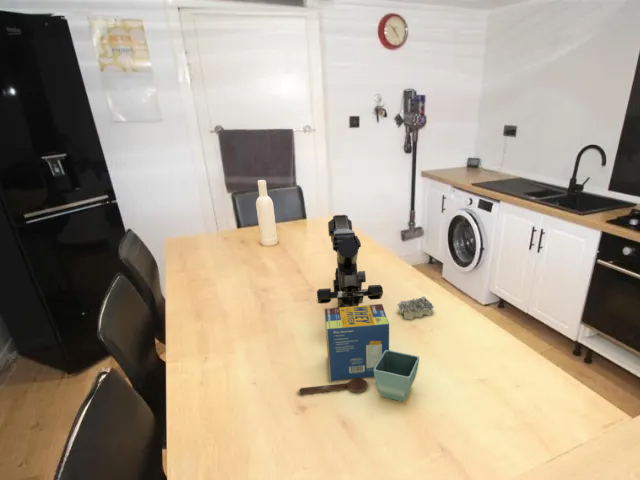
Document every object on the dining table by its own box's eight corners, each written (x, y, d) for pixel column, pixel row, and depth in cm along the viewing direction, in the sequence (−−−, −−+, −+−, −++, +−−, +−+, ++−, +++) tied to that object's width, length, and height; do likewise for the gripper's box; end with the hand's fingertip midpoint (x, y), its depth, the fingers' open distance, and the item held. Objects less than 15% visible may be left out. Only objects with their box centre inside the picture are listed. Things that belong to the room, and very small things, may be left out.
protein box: (327, 358, 112) (324, 308, 105) (383, 352, 114) (382, 303, 108) (329, 381, 103) (325, 328, 96) (389, 375, 105) (390, 323, 98)
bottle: (275, 246, 195) (267, 182, 182) (259, 246, 195) (250, 182, 182) (279, 240, 202) (272, 178, 189) (263, 240, 202) (255, 178, 189)
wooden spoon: (299, 399, 97) (298, 395, 96) (299, 387, 101) (299, 382, 100) (368, 392, 99) (368, 387, 99) (365, 380, 103) (365, 375, 103)
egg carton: (405, 321, 130) (405, 309, 128) (396, 310, 137) (396, 299, 135) (435, 314, 134) (435, 303, 132) (424, 304, 140) (425, 294, 138)
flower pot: (418, 386, 101) (420, 355, 97) (409, 409, 94) (410, 377, 90) (385, 378, 104) (385, 349, 100) (373, 401, 96) (372, 369, 92)
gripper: (314, 263, 112) (318, 318, 107) (381, 258, 114) (388, 312, 109) (316, 277, 122) (319, 328, 117) (377, 273, 125) (383, 322, 120)
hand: (352, 322), depth 116 cm, fingers closed
